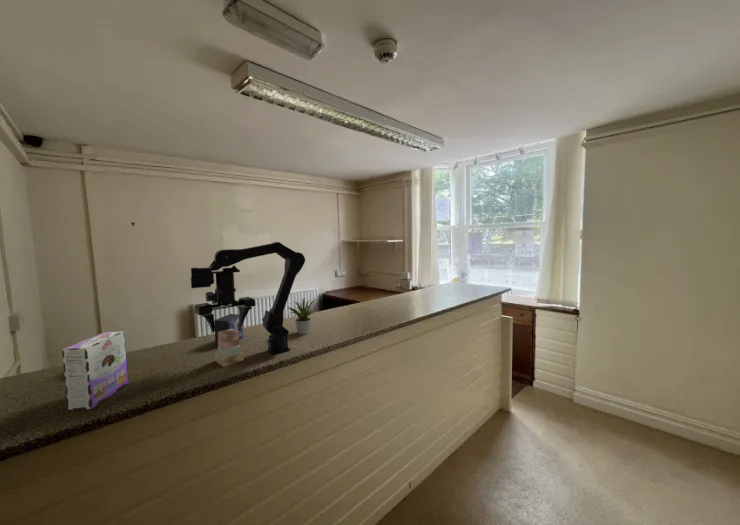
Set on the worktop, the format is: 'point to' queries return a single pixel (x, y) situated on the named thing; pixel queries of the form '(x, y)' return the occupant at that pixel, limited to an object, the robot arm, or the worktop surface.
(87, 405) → the candy box
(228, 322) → the small box
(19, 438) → the worktop surface
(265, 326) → the robot arm
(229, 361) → the beech base block
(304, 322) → the house plant
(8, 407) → the worktop surface
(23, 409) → the worktop surface
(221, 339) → the rose cube
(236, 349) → the sage top block
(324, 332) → the worktop surface
